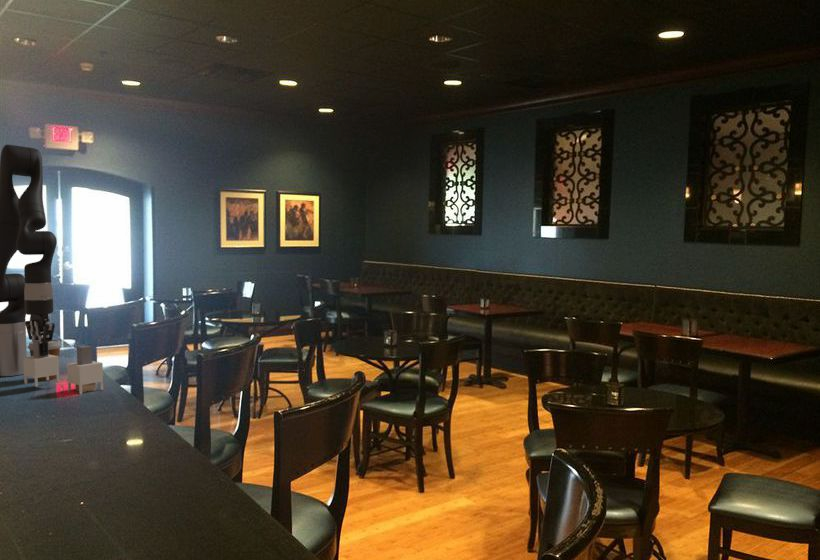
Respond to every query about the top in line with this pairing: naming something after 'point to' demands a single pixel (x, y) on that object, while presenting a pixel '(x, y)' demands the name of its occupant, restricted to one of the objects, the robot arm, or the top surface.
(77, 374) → the cover
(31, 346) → the disposable coffee cup
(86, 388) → the letter cube
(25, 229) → the robot arm
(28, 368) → the cover
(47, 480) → the top surface
